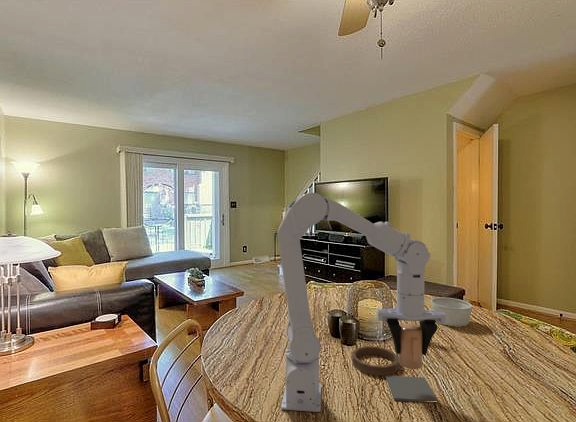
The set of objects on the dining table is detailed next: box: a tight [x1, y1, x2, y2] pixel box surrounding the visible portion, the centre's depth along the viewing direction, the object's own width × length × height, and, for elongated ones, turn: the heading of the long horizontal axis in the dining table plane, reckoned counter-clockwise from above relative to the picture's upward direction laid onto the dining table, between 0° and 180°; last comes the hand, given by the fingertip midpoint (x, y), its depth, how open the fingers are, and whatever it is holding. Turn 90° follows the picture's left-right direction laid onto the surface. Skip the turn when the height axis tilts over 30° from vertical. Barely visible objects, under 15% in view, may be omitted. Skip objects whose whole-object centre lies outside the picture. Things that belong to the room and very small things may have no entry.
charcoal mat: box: [385, 374, 439, 403], centre depth 70 cm, size 9×9×1 cm
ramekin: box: [430, 296, 473, 328], centre depth 112 cm, size 13×13×7 cm
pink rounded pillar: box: [398, 323, 423, 370], centre depth 69 cm, size 7×5×8 cm
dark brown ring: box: [351, 345, 400, 377], centre depth 82 cm, size 12×12×2 cm
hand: (410, 352), depth 70 cm, fingers closed on pink rounded pillar, 5 cm apart
